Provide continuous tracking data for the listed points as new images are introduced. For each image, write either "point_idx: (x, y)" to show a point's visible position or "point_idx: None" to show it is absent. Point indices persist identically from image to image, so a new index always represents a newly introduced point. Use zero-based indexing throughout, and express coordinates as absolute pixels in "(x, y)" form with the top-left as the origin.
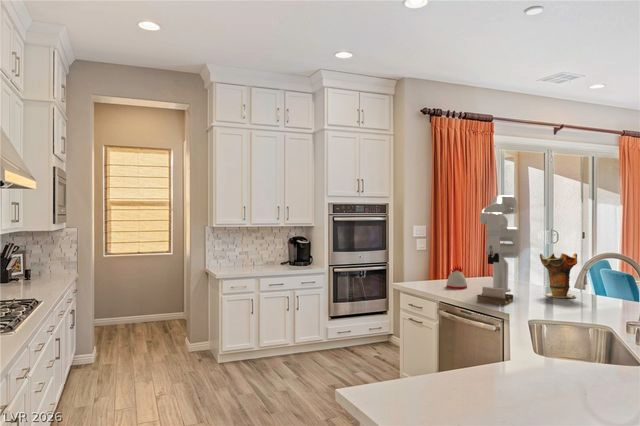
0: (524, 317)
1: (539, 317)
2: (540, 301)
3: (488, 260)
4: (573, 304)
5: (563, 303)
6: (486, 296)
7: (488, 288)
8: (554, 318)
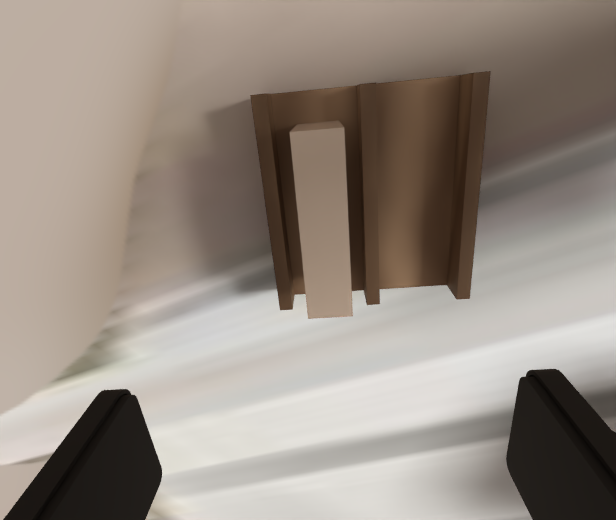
0: None
1: None
2: None
3: (62, 471)
4: None
5: None
6: (262, 179)
7: (296, 194)
8: (191, 499)
